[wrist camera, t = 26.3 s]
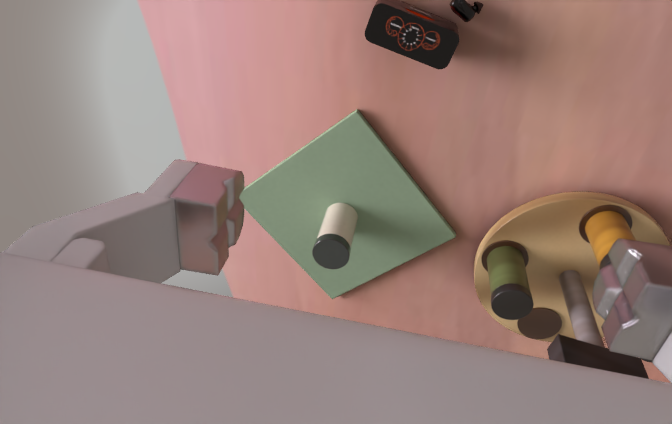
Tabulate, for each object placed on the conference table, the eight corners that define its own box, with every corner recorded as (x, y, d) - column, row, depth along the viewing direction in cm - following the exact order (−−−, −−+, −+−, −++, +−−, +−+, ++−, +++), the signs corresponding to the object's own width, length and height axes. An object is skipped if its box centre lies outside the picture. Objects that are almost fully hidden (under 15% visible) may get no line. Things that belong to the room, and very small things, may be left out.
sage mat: (357, 108, 44) (356, 111, 43) (456, 233, 49) (456, 237, 48) (235, 193, 50) (233, 197, 50) (333, 295, 55) (332, 299, 55)
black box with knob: (454, 62, 40) (455, 76, 37) (367, 27, 40) (362, 39, 37) (483, 2, 38) (486, 12, 35) (390, -36, 37) (386, -28, 34)
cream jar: (318, 209, 49) (304, 247, 44) (347, 196, 48) (337, 234, 43) (336, 234, 50) (324, 274, 45) (364, 223, 49) (356, 262, 44)
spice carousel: (444, 232, 48) (444, 339, 37) (638, 160, 41) (707, 265, 30) (512, 350, 54) (530, 470, 43) (690, 305, 47) (762, 433, 37)
